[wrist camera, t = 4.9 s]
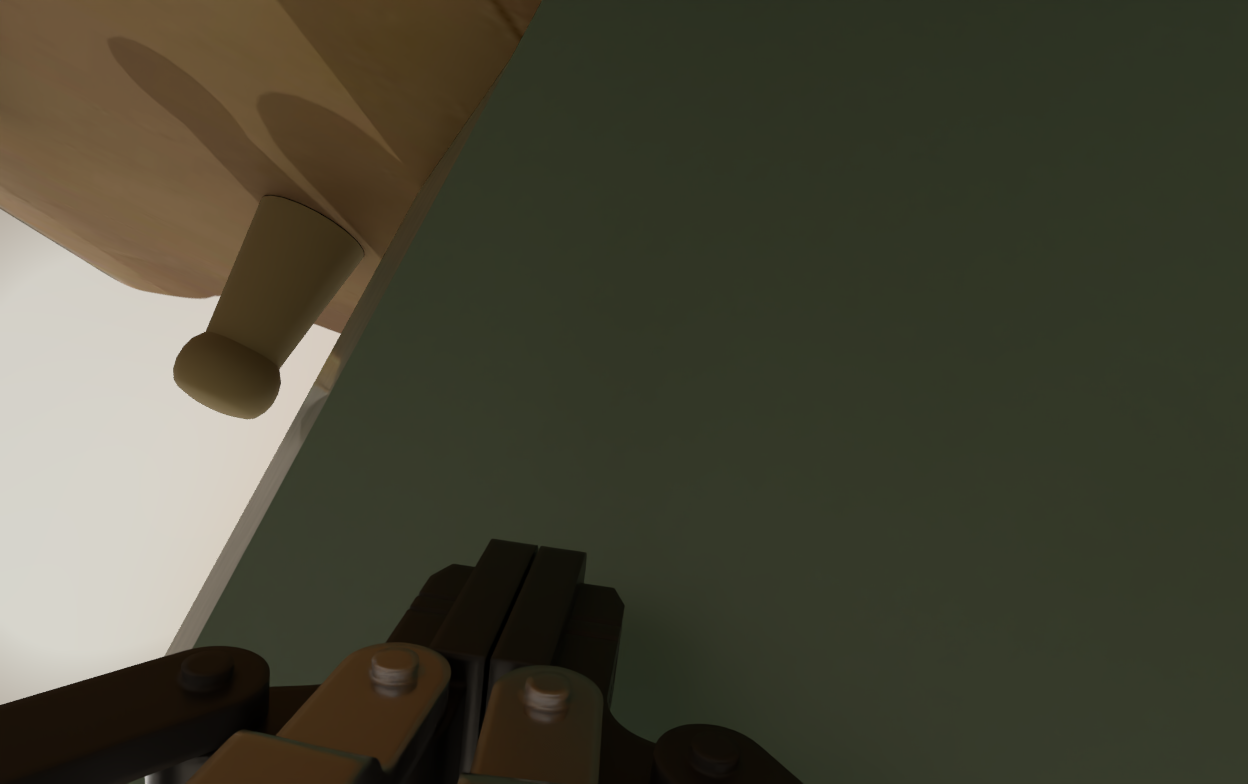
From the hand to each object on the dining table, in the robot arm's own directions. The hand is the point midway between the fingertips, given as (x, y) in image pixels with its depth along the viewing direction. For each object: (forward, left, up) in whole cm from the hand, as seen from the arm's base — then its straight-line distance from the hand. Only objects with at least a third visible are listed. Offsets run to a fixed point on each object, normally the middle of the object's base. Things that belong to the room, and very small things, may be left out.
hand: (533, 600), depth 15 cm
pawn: (+25, -31, -15) cm, 42 cm away
